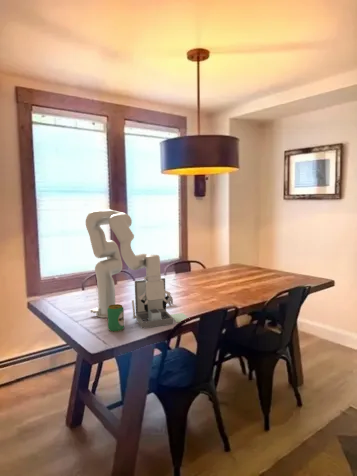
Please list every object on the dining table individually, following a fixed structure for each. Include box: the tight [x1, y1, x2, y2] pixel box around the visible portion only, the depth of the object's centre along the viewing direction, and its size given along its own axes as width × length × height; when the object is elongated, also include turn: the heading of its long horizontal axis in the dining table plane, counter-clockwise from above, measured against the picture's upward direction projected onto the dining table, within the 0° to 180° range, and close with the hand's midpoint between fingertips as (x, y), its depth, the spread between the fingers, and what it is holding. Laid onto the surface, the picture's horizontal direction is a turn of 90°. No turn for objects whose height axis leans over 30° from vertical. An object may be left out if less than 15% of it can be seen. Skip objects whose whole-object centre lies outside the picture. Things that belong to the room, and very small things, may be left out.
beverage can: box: [107, 303, 125, 333], centre depth 182 cm, size 8×8×12 cm
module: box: [147, 309, 162, 321], centre depth 192 cm, size 5×8×6 cm, turn 19°
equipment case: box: [131, 277, 175, 329], centre depth 192 cm, size 19×15×22 cm
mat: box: [170, 312, 189, 324], centre depth 198 cm, size 8×13×1 cm, turn 19°
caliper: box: [166, 294, 174, 306], centre depth 217 cm, size 20×1×6 cm, turn 139°
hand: (155, 309), depth 192 cm, fingers open, 9 cm apart
